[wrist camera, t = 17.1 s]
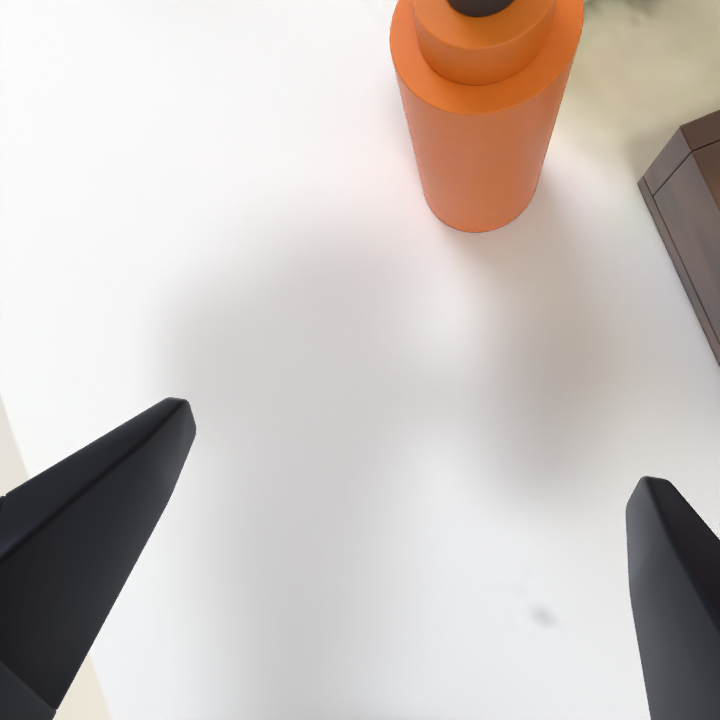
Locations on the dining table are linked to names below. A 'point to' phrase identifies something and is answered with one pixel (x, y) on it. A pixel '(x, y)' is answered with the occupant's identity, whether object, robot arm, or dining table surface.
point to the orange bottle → (482, 99)
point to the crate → (691, 213)
